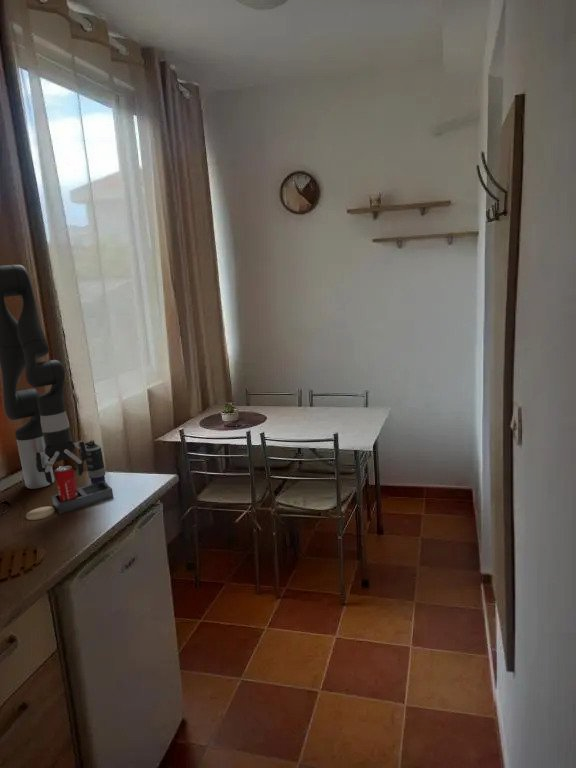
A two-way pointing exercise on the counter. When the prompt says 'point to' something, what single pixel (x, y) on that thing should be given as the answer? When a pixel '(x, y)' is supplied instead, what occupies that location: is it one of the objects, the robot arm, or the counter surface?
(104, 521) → the counter surface
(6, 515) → the counter surface
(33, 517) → the coaster
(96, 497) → the rack frame
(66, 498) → the beverage can
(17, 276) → the robot arm
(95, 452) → the grenade
